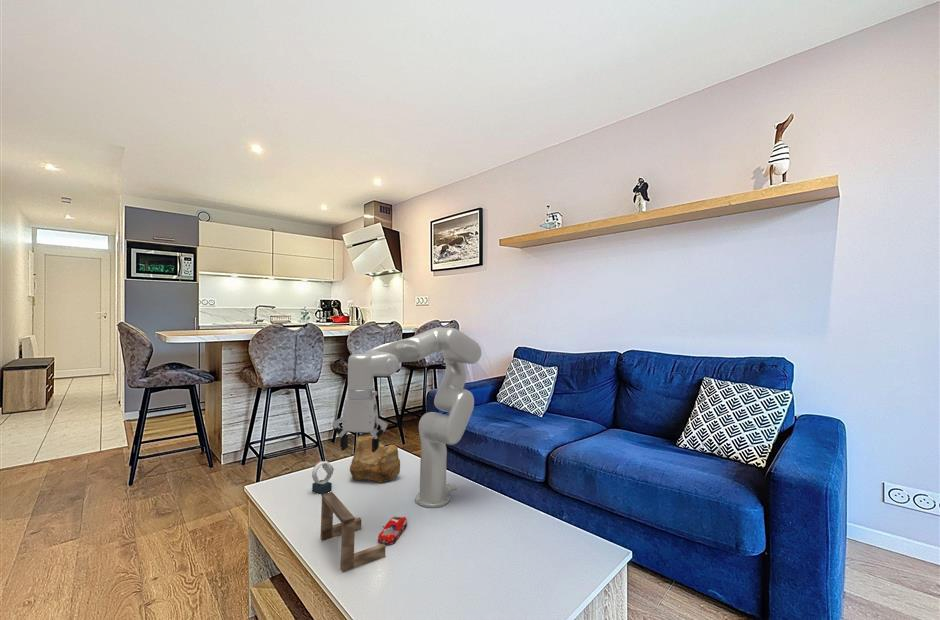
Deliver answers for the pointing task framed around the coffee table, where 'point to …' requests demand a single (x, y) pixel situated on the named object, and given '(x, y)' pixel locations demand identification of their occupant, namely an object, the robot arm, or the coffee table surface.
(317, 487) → the watch
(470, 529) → the coffee table surface
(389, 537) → the race car
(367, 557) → the walnut tunnel
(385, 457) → the rough brown rock
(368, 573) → the coffee table surface
